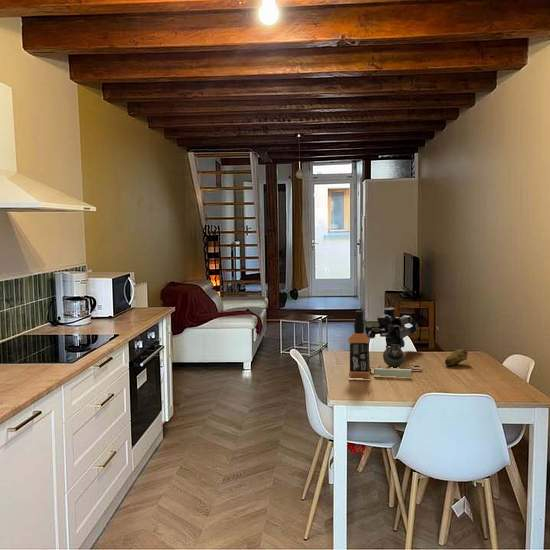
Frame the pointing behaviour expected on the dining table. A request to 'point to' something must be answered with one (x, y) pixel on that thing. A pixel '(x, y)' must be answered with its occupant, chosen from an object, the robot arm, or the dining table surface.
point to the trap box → (416, 366)
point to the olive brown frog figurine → (456, 357)
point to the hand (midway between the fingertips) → (376, 336)
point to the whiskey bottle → (359, 350)
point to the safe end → (393, 372)
